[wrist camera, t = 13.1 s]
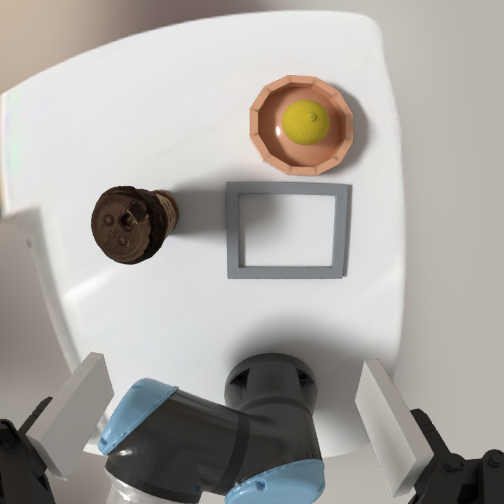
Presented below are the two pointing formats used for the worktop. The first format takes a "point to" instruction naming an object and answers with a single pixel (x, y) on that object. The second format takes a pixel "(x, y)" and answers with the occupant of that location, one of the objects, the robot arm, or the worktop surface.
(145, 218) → the coffee cup
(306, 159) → the bowl
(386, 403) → the robot arm
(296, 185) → the gray rectangular frame
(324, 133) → the lemon
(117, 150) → the worktop surface
